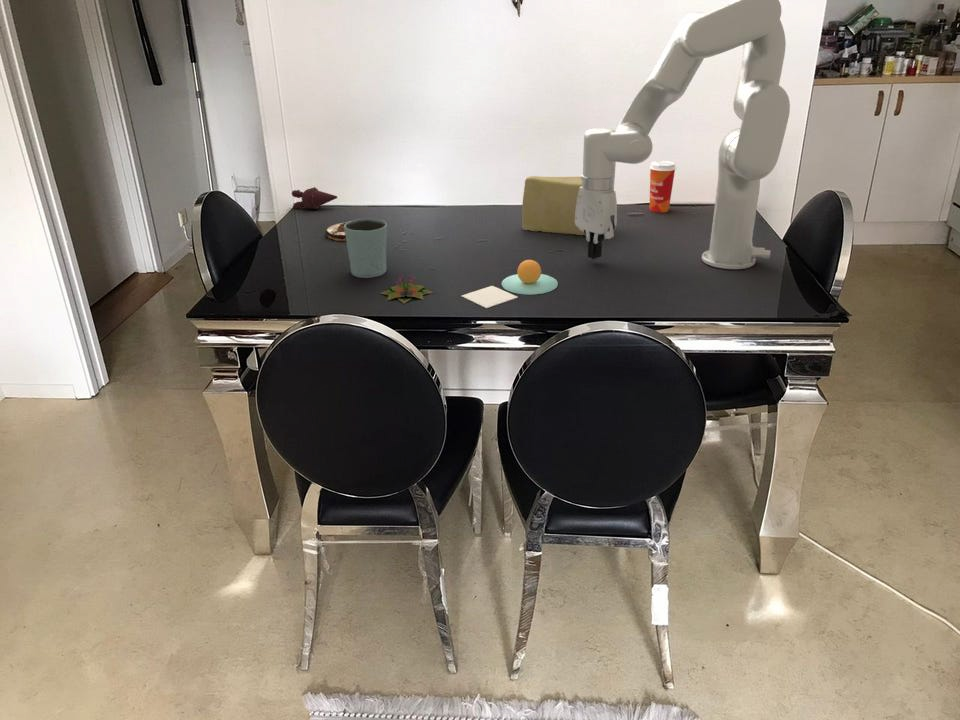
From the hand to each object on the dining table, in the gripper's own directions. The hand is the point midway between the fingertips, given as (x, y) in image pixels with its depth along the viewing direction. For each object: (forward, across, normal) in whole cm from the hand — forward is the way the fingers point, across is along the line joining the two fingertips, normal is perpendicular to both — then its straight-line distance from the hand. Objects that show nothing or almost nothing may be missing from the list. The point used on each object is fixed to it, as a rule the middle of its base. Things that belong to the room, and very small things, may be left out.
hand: (594, 256), depth 184 cm
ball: (-1, -1, -21) cm, 21 cm away
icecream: (+2, -92, -29) cm, 97 cm away
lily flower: (+2, -14, -46) cm, 48 cm away
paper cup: (+2, -19, +47) cm, 51 cm away
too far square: (+2, 0, -33) cm, 33 cm away
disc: (+2, 0, -21) cm, 21 cm away
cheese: (+2, -24, +12) cm, 27 cm away
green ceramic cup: (+2, -32, -45) cm, 56 cm away
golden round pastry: (+2, -62, -34) cm, 71 cm away
